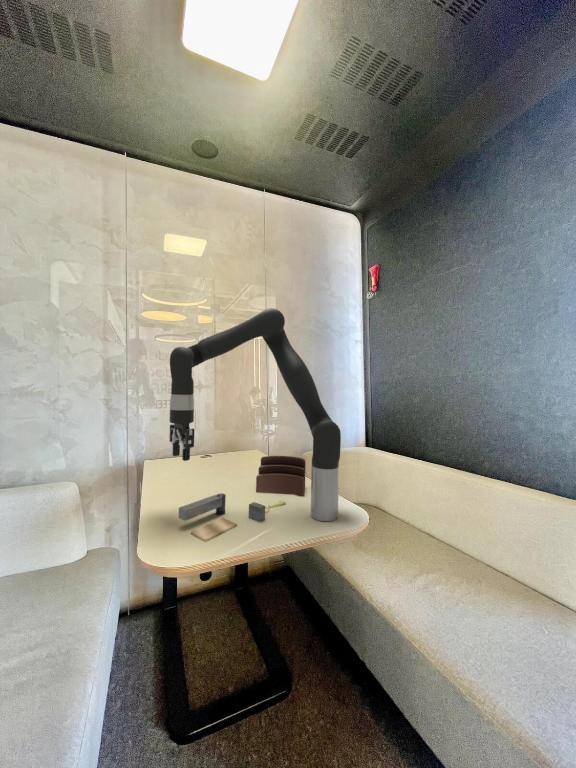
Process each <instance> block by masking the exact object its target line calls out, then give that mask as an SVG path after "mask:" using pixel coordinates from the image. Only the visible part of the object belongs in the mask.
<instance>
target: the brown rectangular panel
mask: <svg viewBox="0 0 576 768" xmlns="http://www.w3.org/2000/svg"><path fill="white" fill-rule="evenodd" d="M237 527H238V523H236V522H233V521H232V520H230V519H226V518H223V517H221V518H218V519H216V520H214V521H212V522H210V523H207V524H205V525H203V526H201V527H198V528H196V529H193V530H192V531H190V535H192V536H193V537H195V538H197V539H200V540H201V541H203V542H205V543H207V542H209V541H211V540H212V539H215V538H216V537H219V536H221V535H223V534H225V533H226V532H228V531H230V530H233V529H235V528H237Z"/></svg>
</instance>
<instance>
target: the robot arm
mask: <svg viewBox="0 0 576 768" xmlns="http://www.w3.org/2000/svg"><path fill="white" fill-rule="evenodd" d="M285 323H286V319H285V316H284V314H283V313H282V312H281V310H279V309H278V308H275V307H273V308H272V307H271V308H266V309H264V310H263V311H261V312H259V313H258V314H256V315H254V316H253V317H251V318H249V319H247V320H245V321H244V322H242V323H239V324H237V325H235V326H233V327H229V328H228V329H225V330H223V331H219V332H218V333H215V334H212V335H210V336H208V337H205V338H202V339H201V340H199V341H198V342H197V343H196V344H194V345H191V346H188V347H186V346H177V347H176V348H173V350H172V351H171V353H170V356H169V369H170V371H169V372H170V377H171V386H170V387H171V388H170V398H169V399H170V400H169V423H170V424H169V442H170V443H171V445H172V453H171V454H172V456H173V457H178V456H180V453H182V455H181V456H182V458H181V459H182V461H183V462H187V461H190V459H191V448H194V447H195V428H191V427H190V424H192V423H194V421H195V419H194V418H195V413H194V412H195V399H194V398H195V396H194V393H195V392H194V391H195V390H194V389H195V388H194V387H195V385H194V383H195V382H194V378H193V368H194V367H196V366H198V365H199V366H200V365H201V364H202V363H204V362H206V361H208V360H212V359H215V358H217V357H220V356H222V355H224V354H227V353H229V352H231V351H233V350H234V349H236V348H237V347H239V346H241V345H243V344H245V343H246V342H249V341H251V340H254V339H256V338H262V339H263V340H264V342H265V344H266V346H267V347H268V348H269V350H270V352H271V354H272V355H273V357H274V359H275V360H274V361H275V363H276V365H277V368H278V370H279V372H280V374H281V377H282V379H283V381H284V383H285V385H286V387H287V388H288V391H289V393H290V395H291V396H292V398H293V399H294V401H295V402H296V403H297V405H298V406H299V408H300V409H301V412H302V413H303V415H304V416H305V419H306V422H307V424H308V426H309V429H310V432H311V435H312V438H313V439H312V440H313V441H312V457H311V478H310V479H311V481H310V482H311V483H310V484H311V485H310V487H311V488H310V517H311V518H312V519H314V520H316V521H320V522H332V521H333V522H334V521H335V520H336V518H337V519H338V514H339V469H340V468H339V465H340V464H339V463H340V459H341V443H342V440H341V439H342V437H341V436H342V434H341V430H340V427H339V425H338V424H337V423H336V422H334V421H333V419H332V418H331V417H330V415H329V414H328V412H327V410H326V409H325V407H324V405H323V404H322V401H321V398H320V395H319V392H318V389H317V386H316V383H315V381H314V379H313V376H312V374H311V372H310V371H309V369H308V366H307V365H306V363H305V361H304V360H303V359H302V357H301V356H300V355H299V354H298V352H297V351H296V350H295V349H294V348H293V346H292V345H291V342H290V340H289V338H288V336H287V333H286V331H285V329H284V327H285ZM181 447H182V452H181Z"/></svg>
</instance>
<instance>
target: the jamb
mask: <svg viewBox="0 0 576 768" xmlns="http://www.w3.org/2000/svg"><path fill="white" fill-rule="evenodd" d="M264 505H265V504H261V503H258V502H256V501H253V502H251V503H249V504H248V519H251V520H254V521H256V522H258V523H261V522H263V521H265V520H266V513H265V512H266V508H265V506H266V505H265V506H264Z"/></svg>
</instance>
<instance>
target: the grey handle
mask: <svg viewBox="0 0 576 768" xmlns="http://www.w3.org/2000/svg"><path fill="white" fill-rule="evenodd" d="M226 496H227V495H226V493H218V494H214V495H210V496H207V497H206V498H203V499H200V500H197V501H193V502H192V503H188V504H185V505H183V506H180V507H178V518H179V519H180V520H182V521H184V522H186V521H188V520H191V519H193V518H196V517H198V516H201V515H204V514H206V513H208V512H211V511H214V510H215V514H216V515H217V516H218V515H219V516H222V515H225V514H226V498H227V497H226Z"/></svg>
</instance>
